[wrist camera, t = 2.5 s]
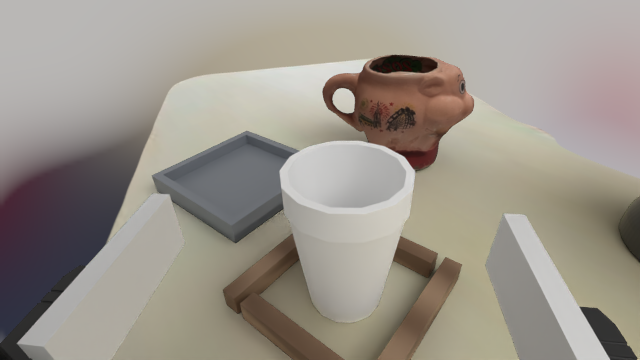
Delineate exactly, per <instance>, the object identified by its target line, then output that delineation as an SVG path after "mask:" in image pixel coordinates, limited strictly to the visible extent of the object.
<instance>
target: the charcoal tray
mask: <svg viewBox="0 0 640 360" xmlns="http://www.w3.org/2000/svg"><path fill="white" fill-rule="evenodd" d="M297 152H299V150H296V149H293V148H291V147H288V146H286V145H283V144H280V143H278V142H275V141H272V140H270V139H267V138H265V137H262V136H259V135H257V134H254V133H251V132H249V131H245V132H243V133H241V134H239V135H237V136H235V137H233V138H231V139H228V140H226V141H224V142H222V143H220V144H218V145H216V146H214V147H211V148H209V149H207V150H205V151H203V152H201V153H199V154H197V155H195V156H192V157H190V158H188V159H186V160H184V161H182V162H180V163H178V164H175V165H173V166H171V167H169V168H167V169H165V170H163V171H161V172H158V173H156V174H154V175H152V177H153V180H154V183H155V186H156V188H157V191H158V192H159V193H161V194H170V197H171V201H173V202H174V203H176V204H177V205H179V206H180V207H182V208H183V209H185V210H186V211H188V212H189V213H191V214H192V215H194V216H195V217H197V218H198V219H200V220H201V221H203V222H204V223H206V224H207V225H209V226H211V227H212V228H214V229H215V230H217V231H218V232H220V233H221V234H223V235H224V236H226V237H227V238H229V239H230V240H232V241H233V242H235V243H236V242H238V241H239V240H241V239H242V238H243V237H245V236H246V235H247V234H249V233H250V232H252V231H253V230H254V229H256V228H257V227H259V226H260V225H261V224H263V223H264V222H265V221H267V220H268V219H270V218H271V217H272V216H274V215H275V214H277V213H278V212H279V211H281V210H282V209H283V208H284V207H283V198H282V190H281V181H280V172H279V171H280V169H281V168H282V167H283V165H284V164H285V163H286V161H287V160H288V158H289V157H290V156H292V155H294V154H295V153H297Z"/></svg>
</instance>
